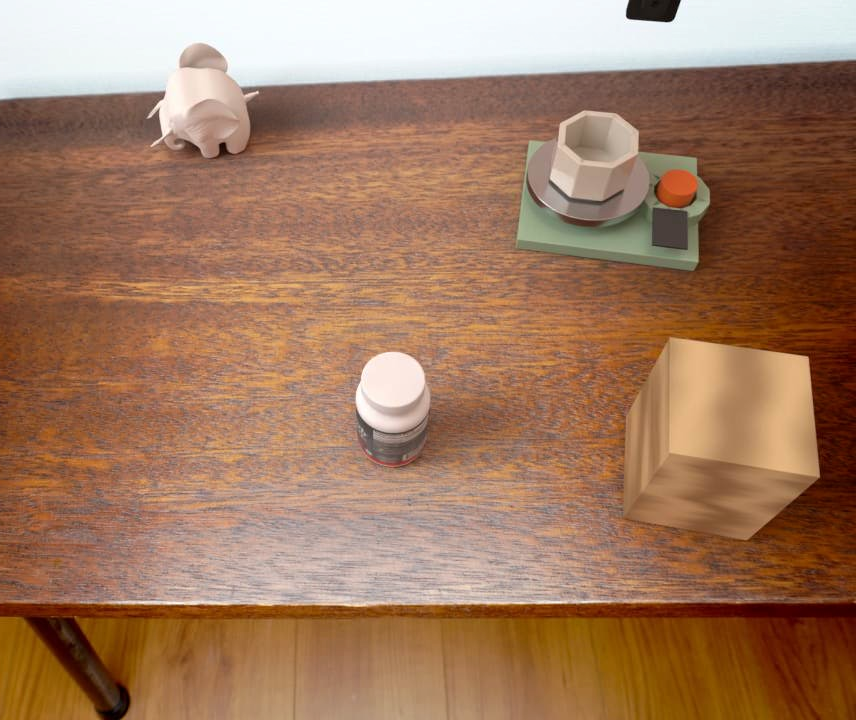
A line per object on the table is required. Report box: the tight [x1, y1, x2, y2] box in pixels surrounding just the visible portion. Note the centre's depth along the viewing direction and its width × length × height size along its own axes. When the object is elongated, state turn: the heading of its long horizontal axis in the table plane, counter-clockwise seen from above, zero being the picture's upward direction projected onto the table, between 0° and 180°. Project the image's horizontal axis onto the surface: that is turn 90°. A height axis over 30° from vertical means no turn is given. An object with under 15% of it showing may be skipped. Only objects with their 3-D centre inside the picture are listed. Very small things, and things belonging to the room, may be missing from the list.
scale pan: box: [526, 136, 688, 250], centre depth 76 cm, size 14×12×1 cm
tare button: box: [656, 169, 698, 208], centre depth 75 cm, size 3×3×2 cm
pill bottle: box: [354, 351, 431, 468], centre depth 63 cm, size 6×6×10 cm
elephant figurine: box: [146, 42, 260, 159], centre depth 83 cm, size 10×12×9 cm
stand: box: [622, 336, 821, 541], centre depth 59 cm, size 9×9×12 cm
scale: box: [515, 139, 711, 272], centre depth 77 cm, size 17×13×3 cm
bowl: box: [550, 110, 640, 201], centre depth 74 cm, size 7×7×4 cm
